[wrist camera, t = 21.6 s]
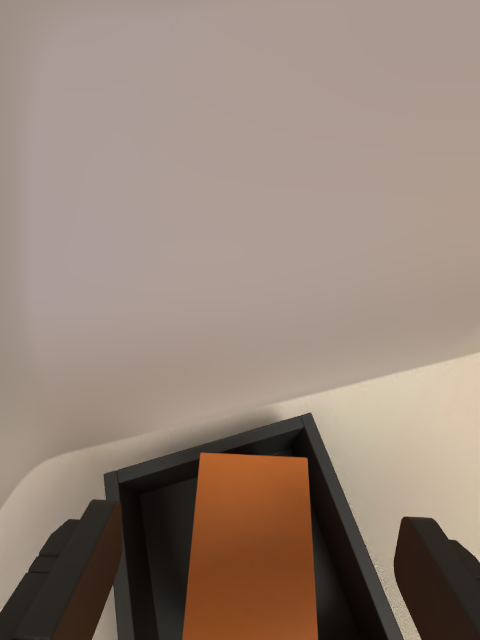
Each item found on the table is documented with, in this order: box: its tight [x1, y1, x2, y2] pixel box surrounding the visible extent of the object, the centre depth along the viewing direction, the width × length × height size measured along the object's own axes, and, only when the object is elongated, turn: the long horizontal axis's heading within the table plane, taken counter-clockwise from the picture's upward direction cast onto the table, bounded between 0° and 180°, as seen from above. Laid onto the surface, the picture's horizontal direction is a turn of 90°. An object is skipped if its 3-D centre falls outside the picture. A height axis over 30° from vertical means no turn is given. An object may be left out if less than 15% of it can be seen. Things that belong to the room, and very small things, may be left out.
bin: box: [104, 413, 404, 640], centre depth 22 cm, size 14×14×7 cm
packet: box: [182, 453, 318, 640], centre depth 19 cm, size 5×9×12 cm, turn 178°
